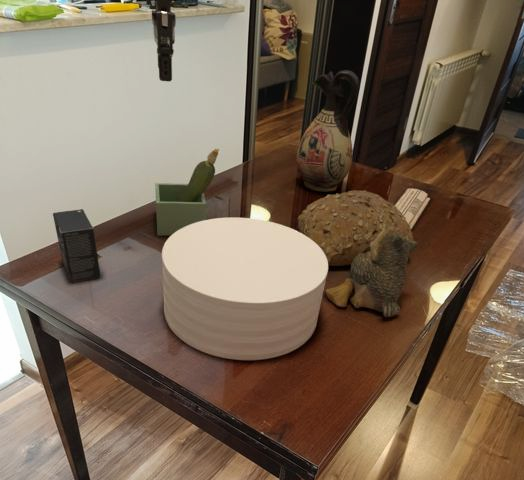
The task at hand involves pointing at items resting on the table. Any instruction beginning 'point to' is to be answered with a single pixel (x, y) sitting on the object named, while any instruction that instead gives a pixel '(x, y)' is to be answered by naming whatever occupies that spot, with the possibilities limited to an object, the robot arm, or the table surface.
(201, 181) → the vegetable
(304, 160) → the ceramic jug
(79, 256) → the box
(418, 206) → the newspaper
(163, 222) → the bin
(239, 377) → the table surface
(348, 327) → the table surface
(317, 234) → the bread
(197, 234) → the plate stack
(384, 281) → the figurine
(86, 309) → the table surface
